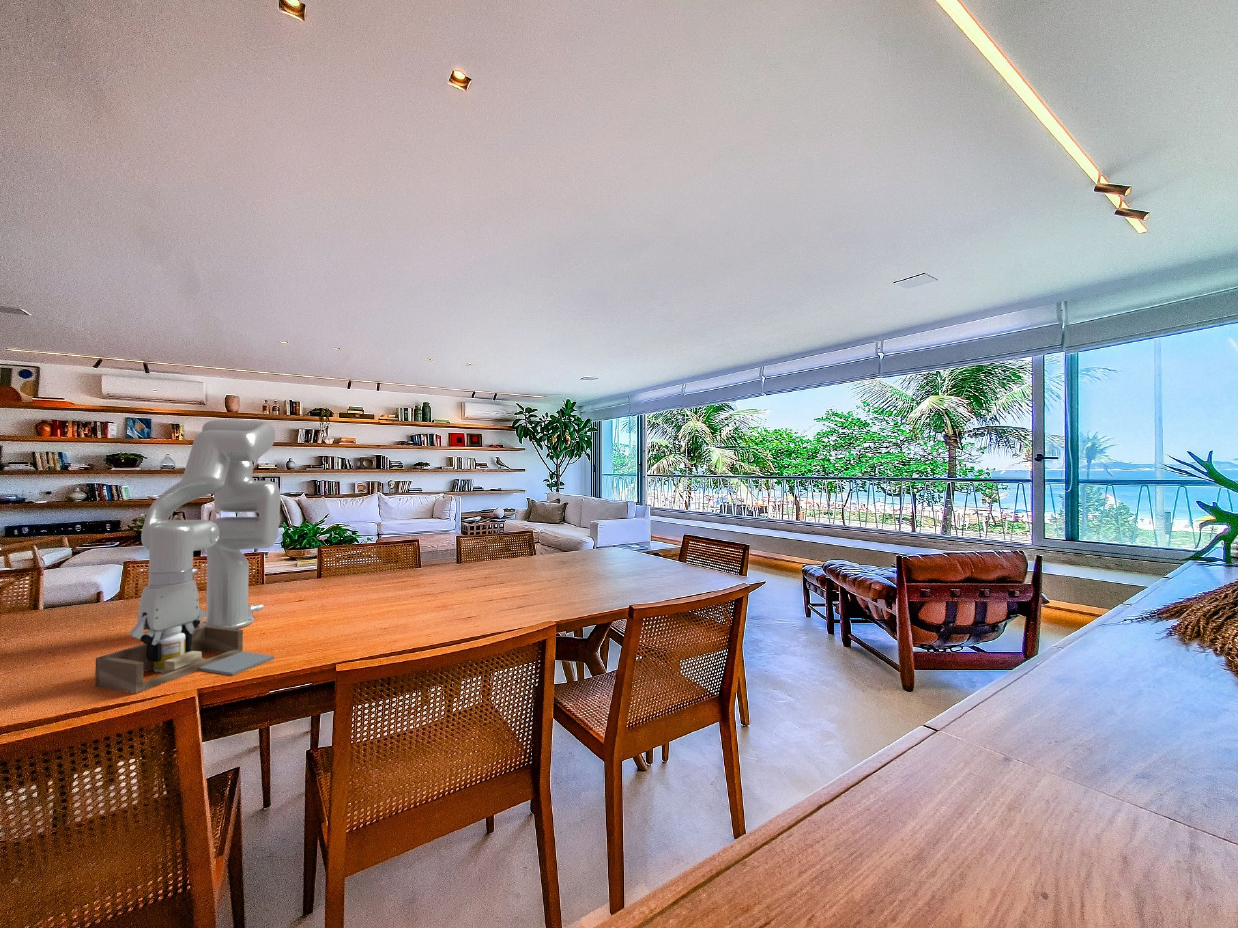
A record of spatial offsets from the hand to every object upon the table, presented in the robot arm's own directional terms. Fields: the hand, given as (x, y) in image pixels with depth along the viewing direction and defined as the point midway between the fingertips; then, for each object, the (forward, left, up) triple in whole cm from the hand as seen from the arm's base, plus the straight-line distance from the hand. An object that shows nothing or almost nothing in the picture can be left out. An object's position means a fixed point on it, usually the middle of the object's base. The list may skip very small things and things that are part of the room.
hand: (169, 654), depth 113 cm
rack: (0, +2, -3) cm, 3 cm away
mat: (-6, +13, -3) cm, 14 cm away
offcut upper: (0, +5, -1) cm, 5 cm away
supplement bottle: (0, 0, -3) cm, 3 cm away
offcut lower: (0, +5, -3) cm, 6 cm away
